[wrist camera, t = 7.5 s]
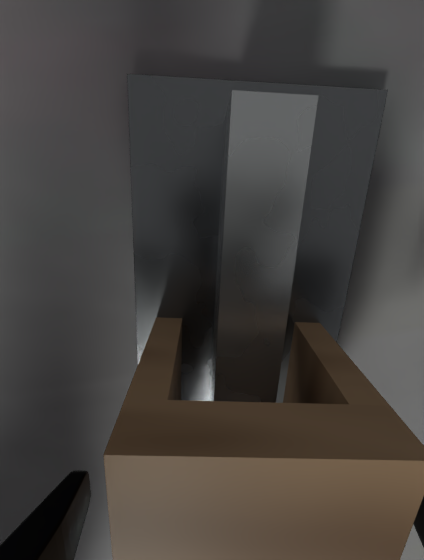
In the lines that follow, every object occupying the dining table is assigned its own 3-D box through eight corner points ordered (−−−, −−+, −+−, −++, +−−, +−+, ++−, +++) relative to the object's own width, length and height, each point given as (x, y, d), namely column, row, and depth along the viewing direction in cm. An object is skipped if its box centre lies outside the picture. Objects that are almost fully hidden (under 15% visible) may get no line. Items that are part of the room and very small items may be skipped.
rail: (290, 544, 16) (310, 627, 13) (147, 543, 16) (133, 627, 13) (376, 95, 9) (458, 52, 6) (132, 80, 9) (95, 27, 6)
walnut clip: (298, 442, 13) (370, 638, 7) (157, 439, 13) (120, 639, 7) (319, 322, 11) (436, 460, 6) (156, 317, 11) (103, 455, 5)
